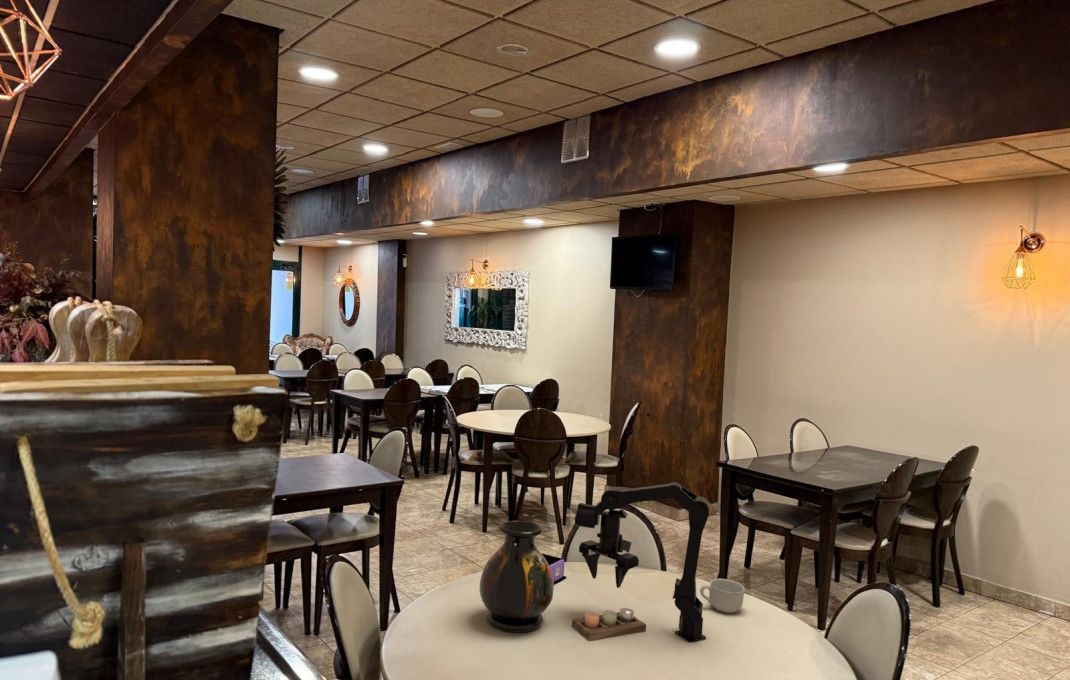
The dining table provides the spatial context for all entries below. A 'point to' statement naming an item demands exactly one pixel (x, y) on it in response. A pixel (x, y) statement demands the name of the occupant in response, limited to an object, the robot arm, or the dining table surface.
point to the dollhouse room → (556, 567)
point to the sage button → (609, 618)
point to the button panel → (608, 628)
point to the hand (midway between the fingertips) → (606, 582)
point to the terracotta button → (591, 621)
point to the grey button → (626, 615)
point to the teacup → (724, 595)
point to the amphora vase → (517, 580)
